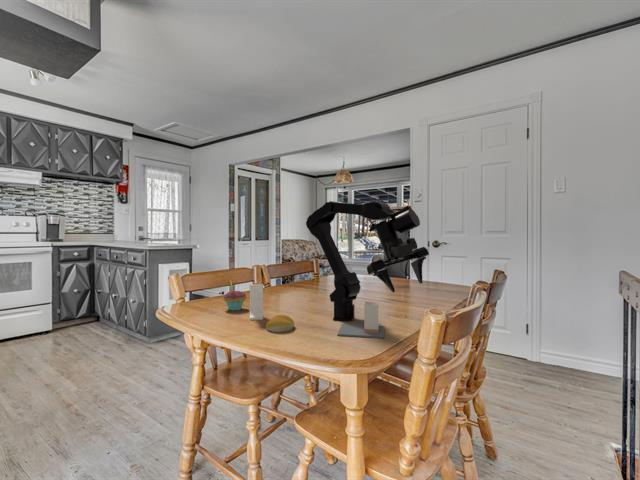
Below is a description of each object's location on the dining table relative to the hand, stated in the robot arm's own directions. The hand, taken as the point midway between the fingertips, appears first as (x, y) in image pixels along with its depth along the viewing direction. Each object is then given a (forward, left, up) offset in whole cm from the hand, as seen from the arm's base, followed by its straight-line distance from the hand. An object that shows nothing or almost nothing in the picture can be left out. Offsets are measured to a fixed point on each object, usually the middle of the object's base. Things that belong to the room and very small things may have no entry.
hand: (407, 287), depth 100 cm
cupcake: (-64, +18, -13) cm, 68 cm away
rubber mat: (-14, -3, -13) cm, 19 cm away
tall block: (-11, -3, -13) cm, 17 cm away
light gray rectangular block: (-51, +7, -13) cm, 53 cm away
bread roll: (-39, -4, -14) cm, 41 cm away
